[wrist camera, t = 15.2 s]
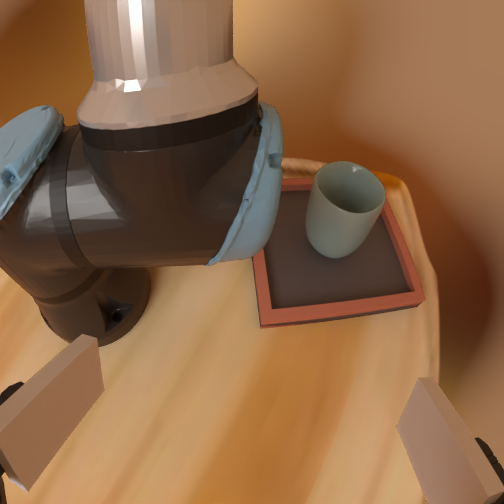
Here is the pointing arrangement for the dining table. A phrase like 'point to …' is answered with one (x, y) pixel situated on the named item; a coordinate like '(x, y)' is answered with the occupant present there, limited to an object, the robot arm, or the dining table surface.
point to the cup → (342, 208)
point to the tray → (330, 270)
